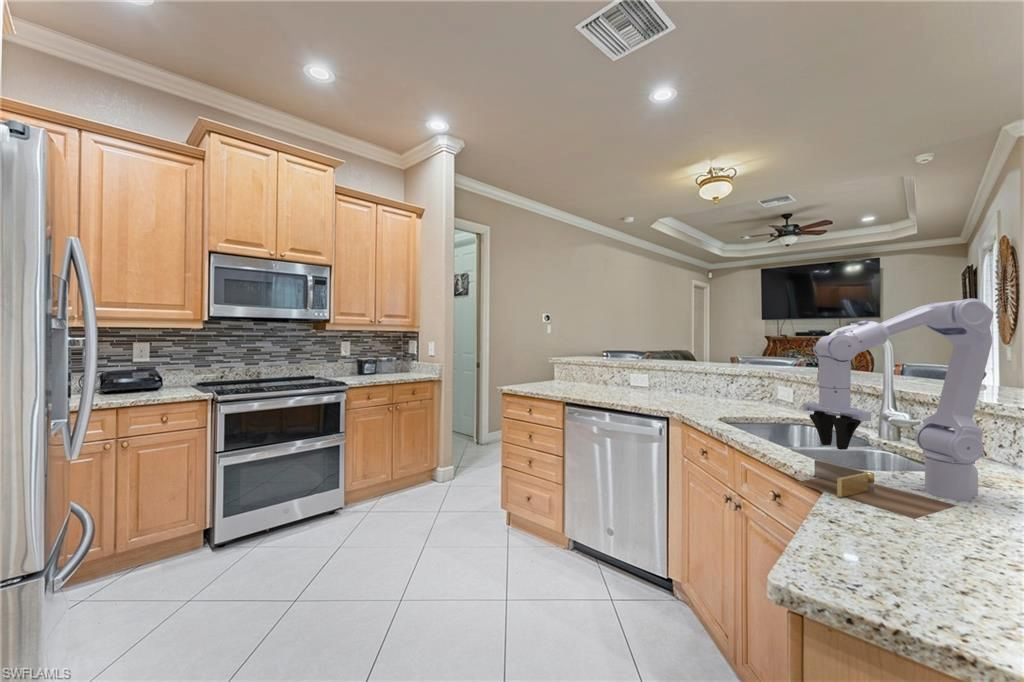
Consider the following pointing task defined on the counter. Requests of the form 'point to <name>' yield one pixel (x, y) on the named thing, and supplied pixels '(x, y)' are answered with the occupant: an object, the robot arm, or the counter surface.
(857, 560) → the counter surface
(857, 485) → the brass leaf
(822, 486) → the hinge base
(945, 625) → the counter surface
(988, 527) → the counter surface
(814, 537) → the counter surface
